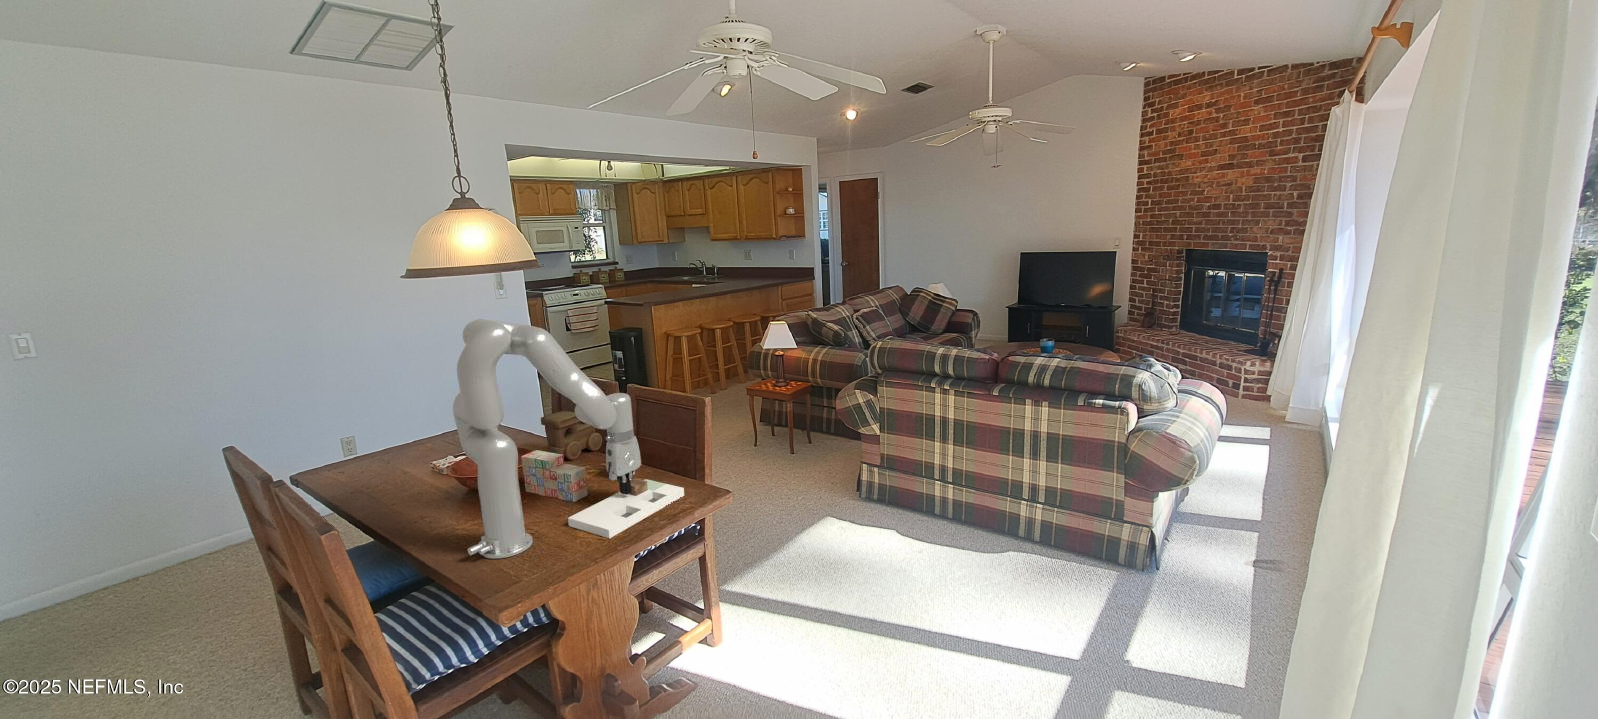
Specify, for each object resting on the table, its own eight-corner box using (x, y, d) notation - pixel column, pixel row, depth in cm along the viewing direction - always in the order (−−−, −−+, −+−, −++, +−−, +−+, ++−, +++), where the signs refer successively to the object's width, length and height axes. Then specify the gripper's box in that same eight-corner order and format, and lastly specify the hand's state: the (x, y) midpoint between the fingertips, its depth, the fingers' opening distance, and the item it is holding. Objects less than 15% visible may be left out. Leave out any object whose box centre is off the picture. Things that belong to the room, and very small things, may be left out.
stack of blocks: (588, 495, 198) (584, 458, 195) (573, 502, 192) (569, 465, 190) (540, 484, 207) (536, 449, 205) (525, 491, 202) (520, 455, 199)
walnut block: (635, 496, 189) (635, 486, 189) (624, 492, 192) (623, 483, 191) (647, 490, 194) (647, 481, 193) (636, 487, 196) (635, 478, 196)
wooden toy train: (565, 465, 224) (560, 420, 220) (543, 460, 229) (538, 416, 226) (606, 447, 241) (602, 406, 237) (585, 443, 246) (581, 402, 243)
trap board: (609, 538, 169) (608, 529, 168) (568, 525, 177) (567, 517, 176) (684, 495, 195) (683, 487, 195) (646, 486, 203) (645, 478, 202)
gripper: (610, 444, 177) (616, 504, 181) (647, 429, 190) (652, 486, 193) (592, 440, 181) (597, 499, 184) (629, 426, 193) (634, 481, 197)
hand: (625, 492), depth 189 cm, fingers closed
